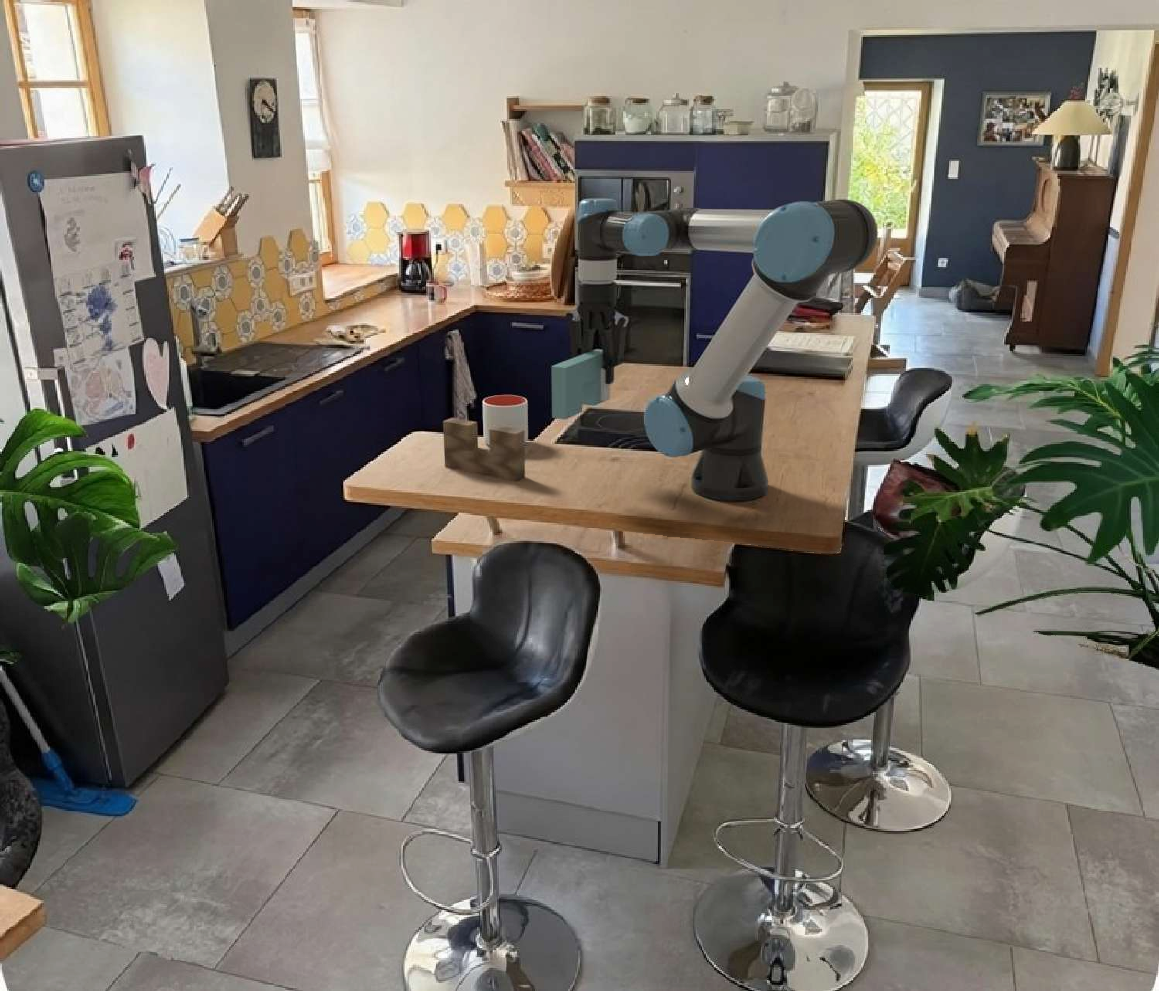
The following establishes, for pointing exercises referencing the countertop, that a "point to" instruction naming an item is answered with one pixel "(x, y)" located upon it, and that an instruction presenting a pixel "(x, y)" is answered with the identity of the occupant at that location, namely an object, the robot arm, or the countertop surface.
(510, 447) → the u-notched wood block
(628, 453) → the countertop surface
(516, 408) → the cup
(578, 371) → the teal arch piece
